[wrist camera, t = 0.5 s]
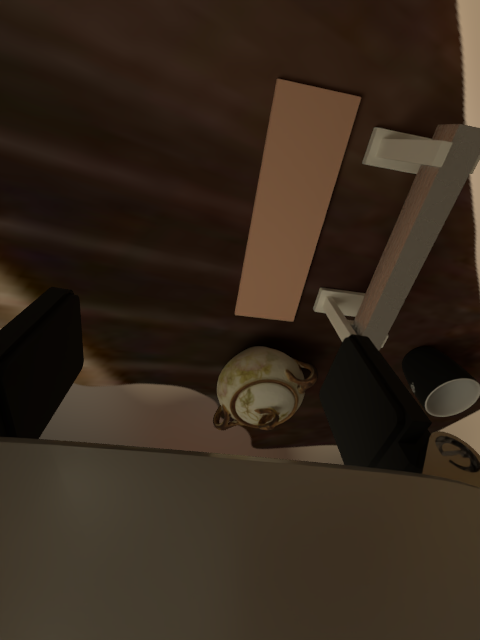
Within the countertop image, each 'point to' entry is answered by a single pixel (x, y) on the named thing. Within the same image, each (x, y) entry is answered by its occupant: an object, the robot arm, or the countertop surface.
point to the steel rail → (416, 231)
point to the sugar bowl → (261, 388)
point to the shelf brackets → (395, 155)
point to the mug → (439, 382)
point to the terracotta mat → (293, 195)
